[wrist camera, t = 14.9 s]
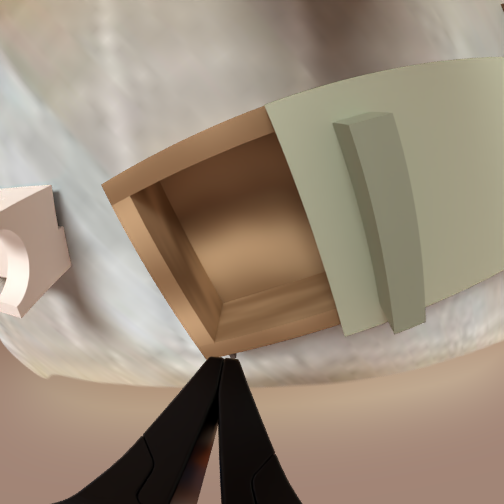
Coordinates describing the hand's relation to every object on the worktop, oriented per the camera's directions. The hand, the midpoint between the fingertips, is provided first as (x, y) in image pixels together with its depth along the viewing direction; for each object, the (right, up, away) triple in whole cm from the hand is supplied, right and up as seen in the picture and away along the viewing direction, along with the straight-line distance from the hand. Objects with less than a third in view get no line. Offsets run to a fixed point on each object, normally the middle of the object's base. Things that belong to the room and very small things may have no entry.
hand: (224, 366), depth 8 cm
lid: (+15, +8, +3) cm, 17 cm away
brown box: (+6, +7, +9) cm, 13 cm away
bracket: (-20, +6, +12) cm, 24 cm away
